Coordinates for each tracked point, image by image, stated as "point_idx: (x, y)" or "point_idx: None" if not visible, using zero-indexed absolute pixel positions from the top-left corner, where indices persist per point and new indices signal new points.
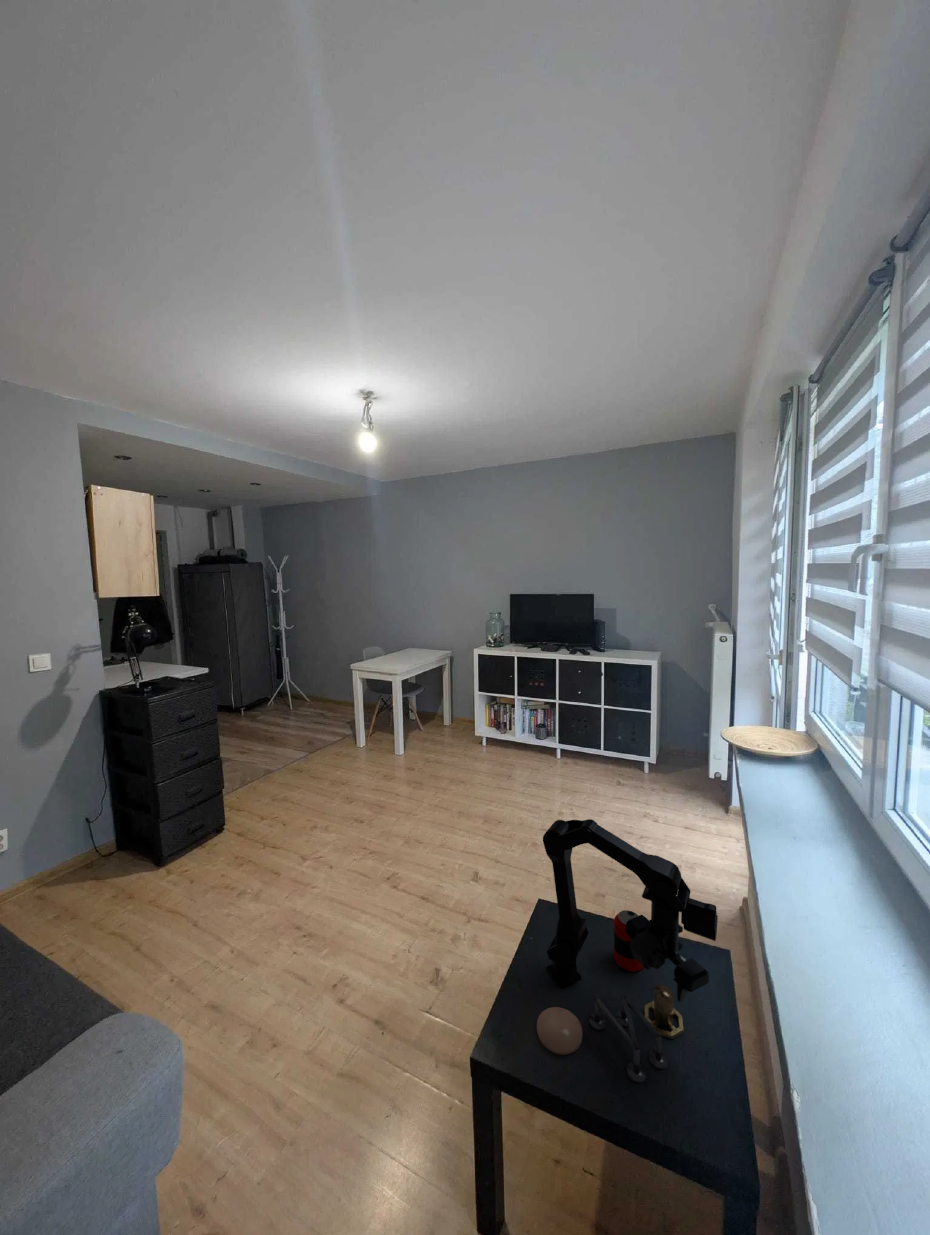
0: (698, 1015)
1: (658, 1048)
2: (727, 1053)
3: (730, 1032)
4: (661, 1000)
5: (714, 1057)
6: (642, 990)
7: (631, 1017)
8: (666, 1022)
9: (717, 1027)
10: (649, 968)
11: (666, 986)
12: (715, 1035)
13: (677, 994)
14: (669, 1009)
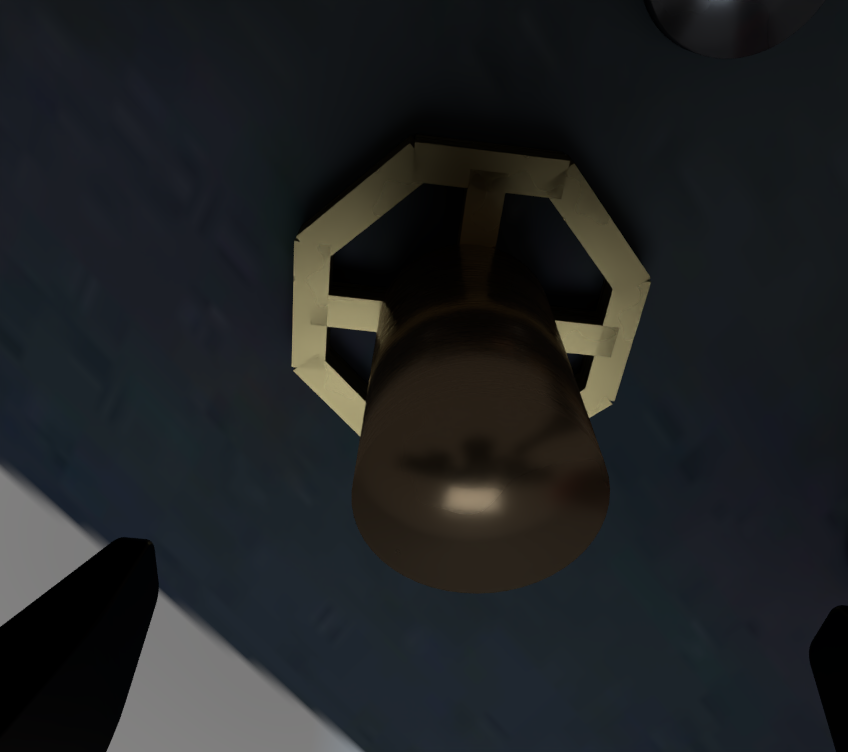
0: (339, 545)
1: None
2: (40, 469)
3: None
4: (434, 386)
5: (43, 375)
6: (750, 396)
7: (680, 38)
8: (391, 291)
9: (214, 565)
10: (815, 648)
11: (510, 584)
12: (176, 513)
13: (63, 643)
14: (368, 390)
